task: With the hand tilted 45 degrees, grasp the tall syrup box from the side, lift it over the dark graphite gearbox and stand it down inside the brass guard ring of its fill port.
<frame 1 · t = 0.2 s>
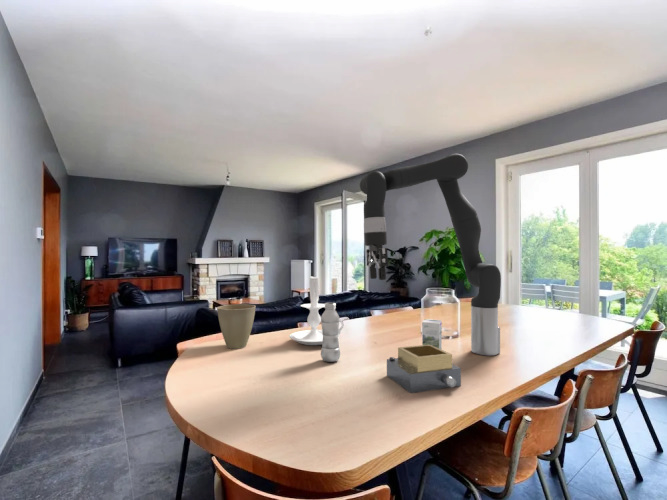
hand: (377, 279, 119), 28 cm above the table, tool pointing down, fingers open, 8 cm apart
candlestick: (318, 342, 147), on the table
gearbox: (422, 380, 103), on the table
plant pot: (236, 346, 141), on the table
syrup box: (432, 363, 119), on the table
plastic bottle: (330, 361, 122), on the table
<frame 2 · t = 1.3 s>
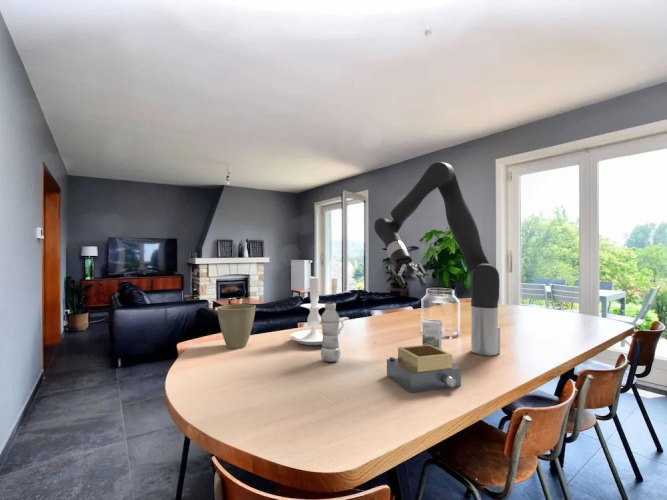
hand: (414, 285, 130), 25 cm above the table, tool tilted 45°, fingers open, 8 cm apart
nothing on the table moved.
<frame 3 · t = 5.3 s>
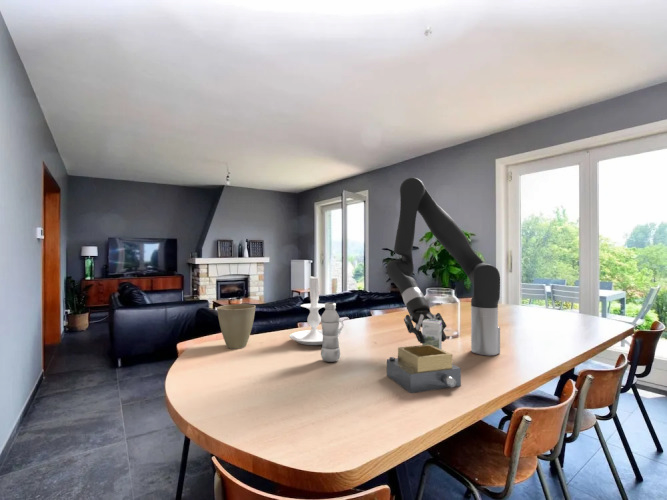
hand: (433, 341, 118), 8 cm above the table, tool tilted 45°, fingers closed on syrup box, 8 cm apart
syrup box: (432, 363, 119), on the table, touching gripper
everything else where it was.
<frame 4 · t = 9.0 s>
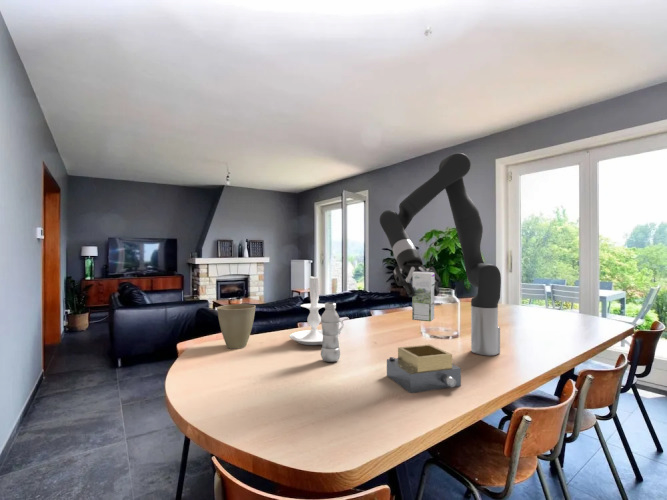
hand: (425, 294, 106), 25 cm above the table, tool tilted 45°, fingers closed on syrup box, 8 cm apart
syrup box: (423, 320, 107), point 17 cm above the table, touching gripper
everything else where it was.
when the fingers open (14 cm above the table, at t = 12.6 s): syrup box drops 1 cm, resting on gearbox.
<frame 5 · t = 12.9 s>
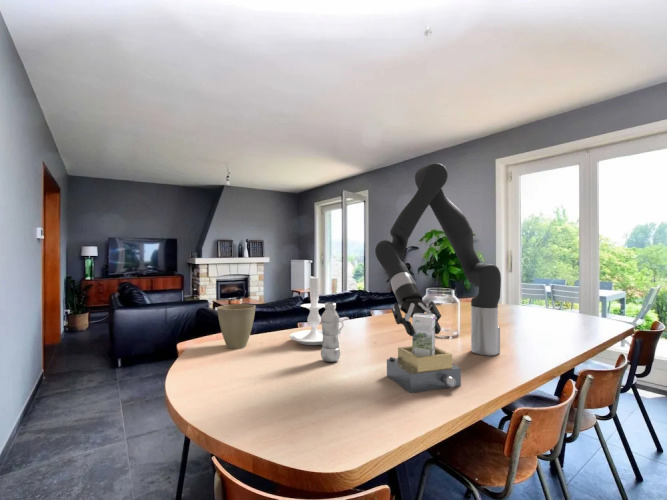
hand: (425, 333, 101), 14 cm above the table, tool tilted 45°, fingers open, 8 cm apart
syrup box: (423, 364, 102), point 5 cm above the table, touching gearbox
everything else where it was.
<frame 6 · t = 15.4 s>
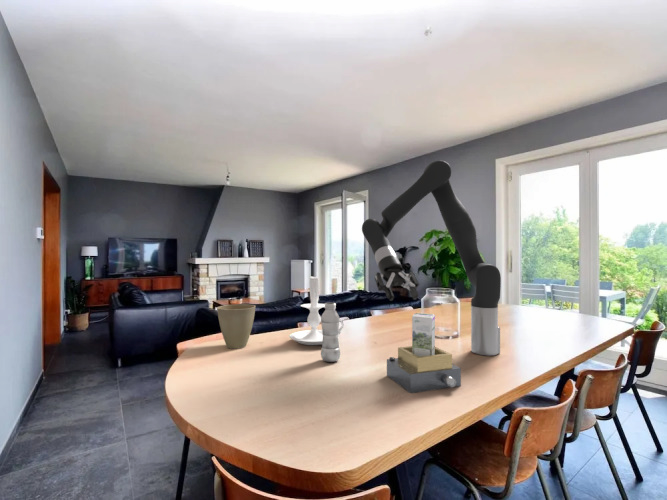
hand: (404, 298, 113), 23 cm above the table, tool tilted 45°, fingers open, 8 cm apart
nothing on the table moved.
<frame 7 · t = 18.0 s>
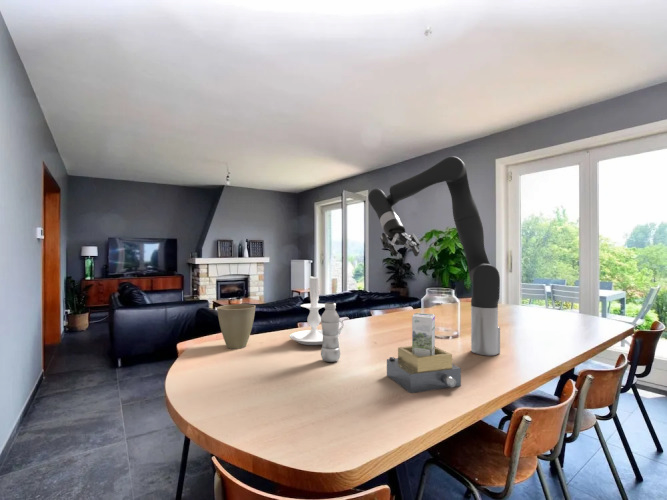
hand: (406, 254, 127), 37 cm above the table, tool tilted 45°, fingers open, 8 cm apart
nothing on the table moved.
at the end: syrup box 0.2 cm from the target spot on the gearbox, point 4.8 cm above the gearbox's base; syrup box tilted 0°; the gripper is holding nothing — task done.
